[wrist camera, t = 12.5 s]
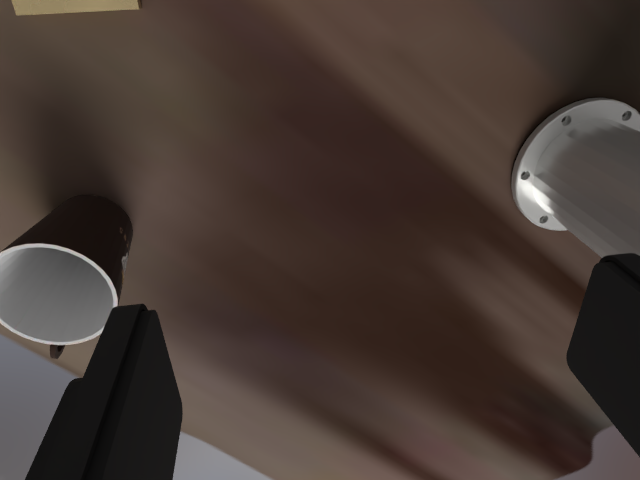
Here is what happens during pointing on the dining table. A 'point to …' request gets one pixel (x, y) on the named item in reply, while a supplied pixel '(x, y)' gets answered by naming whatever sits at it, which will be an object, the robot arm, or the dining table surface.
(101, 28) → the dining table surface
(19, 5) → the open box with flaps
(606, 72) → the dining table surface
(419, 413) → the dining table surface
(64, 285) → the coffee mug
